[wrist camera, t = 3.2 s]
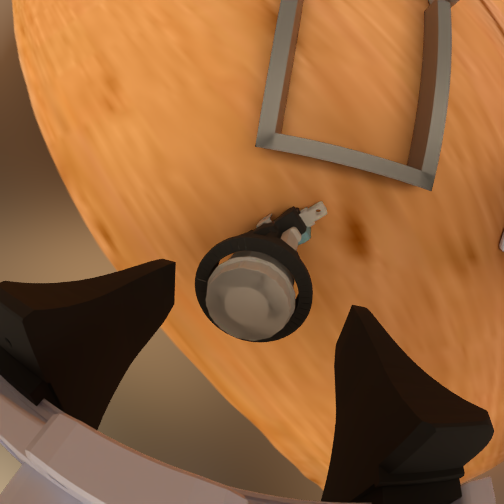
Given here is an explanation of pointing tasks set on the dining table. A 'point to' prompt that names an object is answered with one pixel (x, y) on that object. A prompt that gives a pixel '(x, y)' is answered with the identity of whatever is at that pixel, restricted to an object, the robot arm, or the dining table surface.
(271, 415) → the dining table surface
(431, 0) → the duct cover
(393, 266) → the dining table surface
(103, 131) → the dining table surface
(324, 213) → the push button
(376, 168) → the duct bay
